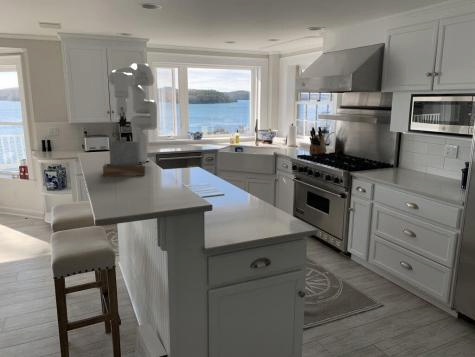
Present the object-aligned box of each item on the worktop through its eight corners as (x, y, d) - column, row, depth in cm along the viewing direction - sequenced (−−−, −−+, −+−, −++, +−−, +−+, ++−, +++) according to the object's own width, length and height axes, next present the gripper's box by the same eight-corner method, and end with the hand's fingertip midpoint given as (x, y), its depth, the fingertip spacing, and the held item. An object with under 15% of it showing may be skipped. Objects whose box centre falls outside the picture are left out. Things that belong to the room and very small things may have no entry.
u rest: (105, 172, 223) (105, 163, 222) (145, 171, 228) (144, 162, 227) (103, 176, 211) (102, 167, 210) (144, 175, 217) (144, 166, 215)
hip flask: (138, 170, 223) (137, 137, 219) (138, 171, 220) (137, 137, 215) (110, 171, 219) (109, 137, 215) (110, 172, 215) (108, 138, 211)
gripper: (116, 94, 217) (117, 124, 221) (113, 95, 201) (115, 127, 205) (129, 94, 219) (130, 124, 223) (127, 95, 203) (129, 127, 207)
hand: (123, 125), depth 214 cm, fingers open, 9 cm apart
